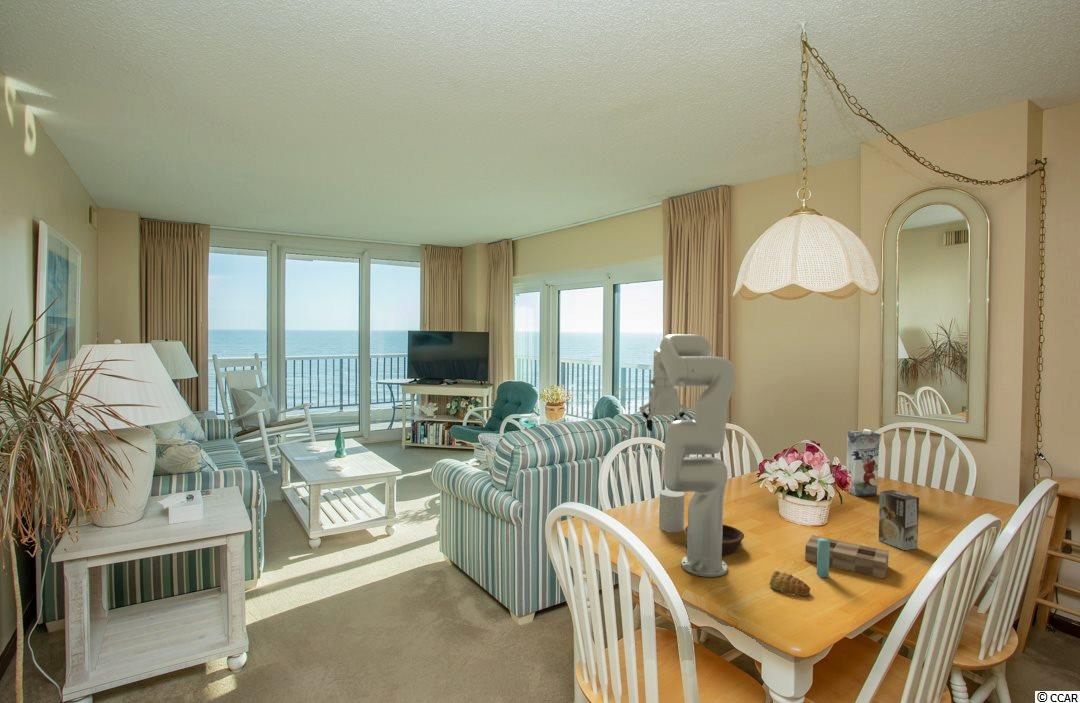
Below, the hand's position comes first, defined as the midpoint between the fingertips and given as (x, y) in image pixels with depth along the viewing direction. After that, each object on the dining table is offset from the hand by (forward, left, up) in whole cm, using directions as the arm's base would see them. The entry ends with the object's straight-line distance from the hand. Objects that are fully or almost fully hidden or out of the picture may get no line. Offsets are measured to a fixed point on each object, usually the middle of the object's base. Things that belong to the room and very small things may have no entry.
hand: (662, 430), depth 201 cm
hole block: (-6, -60, -31) cm, 68 cm away
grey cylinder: (-10, -8, -31) cm, 34 cm away
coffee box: (+20, -71, -31) cm, 80 cm away
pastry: (-33, -50, -31) cm, 68 cm away
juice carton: (+74, -55, -31) cm, 97 cm away
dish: (-17, -25, -31) cm, 44 cm away
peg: (-19, -56, -31) cm, 67 cm away
